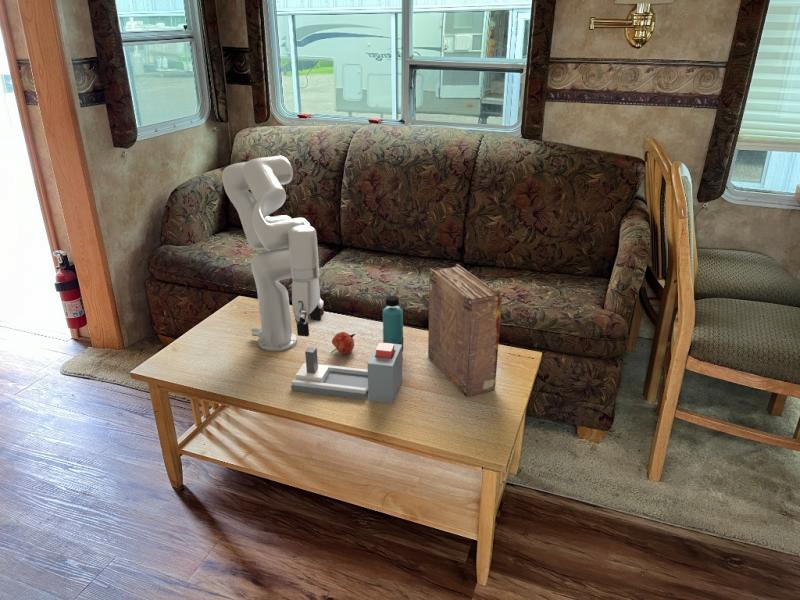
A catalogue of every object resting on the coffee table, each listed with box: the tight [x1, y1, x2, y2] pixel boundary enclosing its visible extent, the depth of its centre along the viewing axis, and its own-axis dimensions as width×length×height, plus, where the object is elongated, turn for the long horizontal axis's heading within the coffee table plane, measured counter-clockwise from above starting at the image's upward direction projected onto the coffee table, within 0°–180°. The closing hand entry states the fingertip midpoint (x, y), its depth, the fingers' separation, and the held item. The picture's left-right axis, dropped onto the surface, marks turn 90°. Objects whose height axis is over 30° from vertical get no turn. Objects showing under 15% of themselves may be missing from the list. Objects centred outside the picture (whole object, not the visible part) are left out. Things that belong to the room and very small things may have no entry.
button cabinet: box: [367, 341, 403, 404], centre depth 176 cm, size 7×12×12 cm, turn 167°
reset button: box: [376, 342, 394, 359], centre depth 173 cm, size 4×4×4 cm
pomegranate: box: [330, 331, 356, 356], centre depth 196 cm, size 7×7×10 cm
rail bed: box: [290, 362, 369, 401], centre depth 181 cm, size 22×12×3 cm, turn 77°
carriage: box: [295, 346, 329, 383], centre depth 180 cm, size 8×6×9 cm
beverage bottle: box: [382, 295, 405, 353], centre depth 192 cm, size 6×7×20 cm
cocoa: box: [308, 297, 325, 317], centre depth 220 cm, size 10×6×12 cm, turn 26°
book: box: [427, 263, 503, 398], centre depth 180 cm, size 25×9×30 cm, turn 24°
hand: (309, 327), depth 175 cm, fingers open, 9 cm apart
